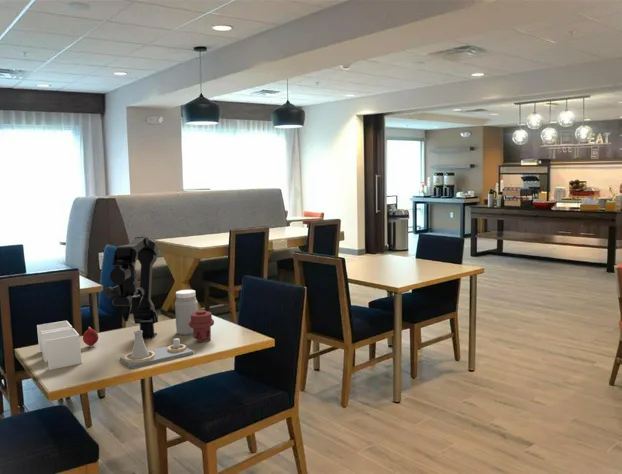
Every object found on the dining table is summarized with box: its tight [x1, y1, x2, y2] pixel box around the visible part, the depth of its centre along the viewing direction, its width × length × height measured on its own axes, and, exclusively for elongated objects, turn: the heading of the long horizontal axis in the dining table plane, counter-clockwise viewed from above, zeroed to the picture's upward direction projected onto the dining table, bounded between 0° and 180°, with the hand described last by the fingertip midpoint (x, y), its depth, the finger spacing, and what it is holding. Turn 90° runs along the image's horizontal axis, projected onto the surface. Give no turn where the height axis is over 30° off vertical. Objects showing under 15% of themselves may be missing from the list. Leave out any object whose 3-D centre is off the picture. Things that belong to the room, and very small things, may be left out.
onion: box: [82, 326, 99, 347], centre depth 227 cm, size 6×6×8 cm
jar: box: [174, 289, 199, 336], centre depth 242 cm, size 10×10×18 cm
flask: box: [130, 329, 150, 359], centre depth 207 cm, size 7×7×10 cm
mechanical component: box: [189, 309, 215, 344], centre depth 230 cm, size 12×10×10 cm
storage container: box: [36, 320, 83, 371], centre depth 214 cm, size 25×11×11 cm, turn 33°
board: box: [119, 338, 194, 370], centre depth 212 cm, size 24×12×5 cm, turn 127°
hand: (130, 317), depth 219 cm, fingers open, 9 cm apart
